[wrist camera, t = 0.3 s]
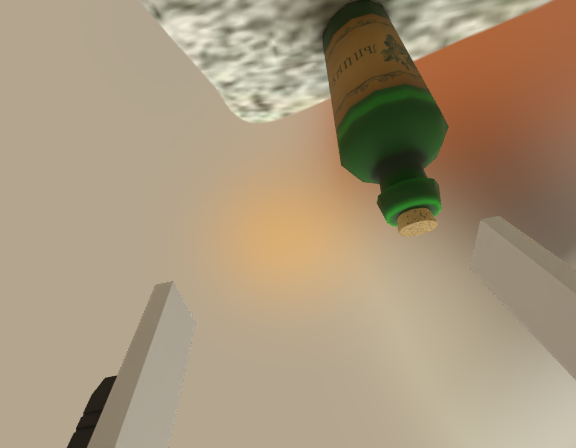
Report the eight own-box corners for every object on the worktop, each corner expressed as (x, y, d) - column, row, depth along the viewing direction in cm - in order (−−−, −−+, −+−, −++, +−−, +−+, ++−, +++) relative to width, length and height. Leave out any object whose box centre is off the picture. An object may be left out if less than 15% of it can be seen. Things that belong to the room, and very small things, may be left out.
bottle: (390, -35, 31) (497, 179, 19) (401, 49, 40) (479, 232, 28) (301, 18, 35) (342, 224, 23) (329, 84, 44) (370, 258, 32)
